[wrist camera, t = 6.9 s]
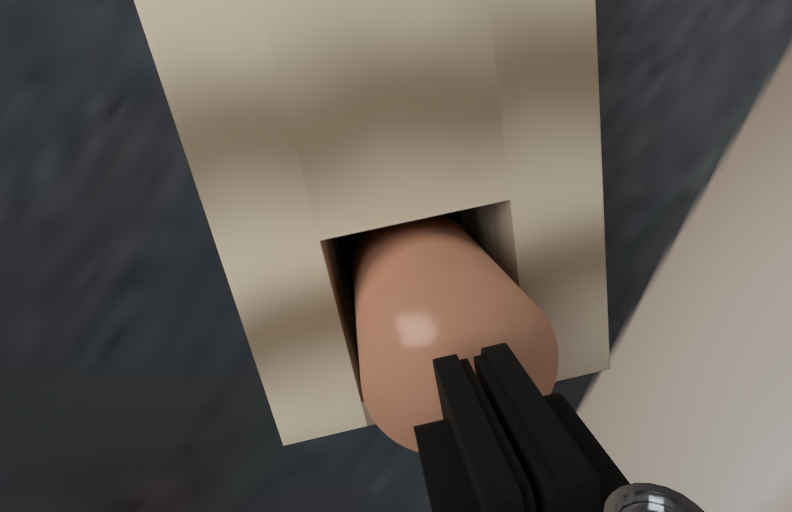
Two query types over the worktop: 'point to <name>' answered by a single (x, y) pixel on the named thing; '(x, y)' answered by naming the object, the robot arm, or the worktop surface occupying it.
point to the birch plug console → (385, 163)
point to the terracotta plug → (435, 319)
